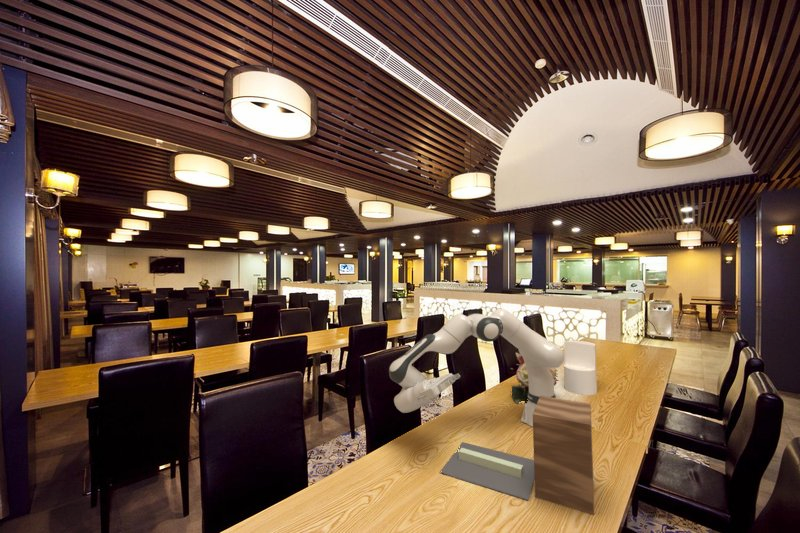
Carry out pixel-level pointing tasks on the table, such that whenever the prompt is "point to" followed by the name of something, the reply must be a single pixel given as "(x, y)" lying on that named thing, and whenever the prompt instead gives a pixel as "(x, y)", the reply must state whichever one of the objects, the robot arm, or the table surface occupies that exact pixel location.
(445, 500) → the table surface
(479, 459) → the stick
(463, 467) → the mat
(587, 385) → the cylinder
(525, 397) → the rose bouquet
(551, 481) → the wooden pedestal block
